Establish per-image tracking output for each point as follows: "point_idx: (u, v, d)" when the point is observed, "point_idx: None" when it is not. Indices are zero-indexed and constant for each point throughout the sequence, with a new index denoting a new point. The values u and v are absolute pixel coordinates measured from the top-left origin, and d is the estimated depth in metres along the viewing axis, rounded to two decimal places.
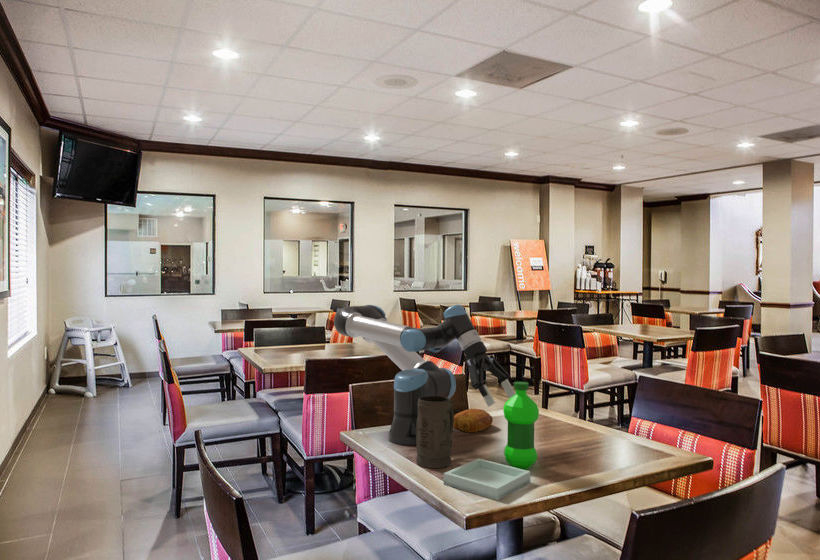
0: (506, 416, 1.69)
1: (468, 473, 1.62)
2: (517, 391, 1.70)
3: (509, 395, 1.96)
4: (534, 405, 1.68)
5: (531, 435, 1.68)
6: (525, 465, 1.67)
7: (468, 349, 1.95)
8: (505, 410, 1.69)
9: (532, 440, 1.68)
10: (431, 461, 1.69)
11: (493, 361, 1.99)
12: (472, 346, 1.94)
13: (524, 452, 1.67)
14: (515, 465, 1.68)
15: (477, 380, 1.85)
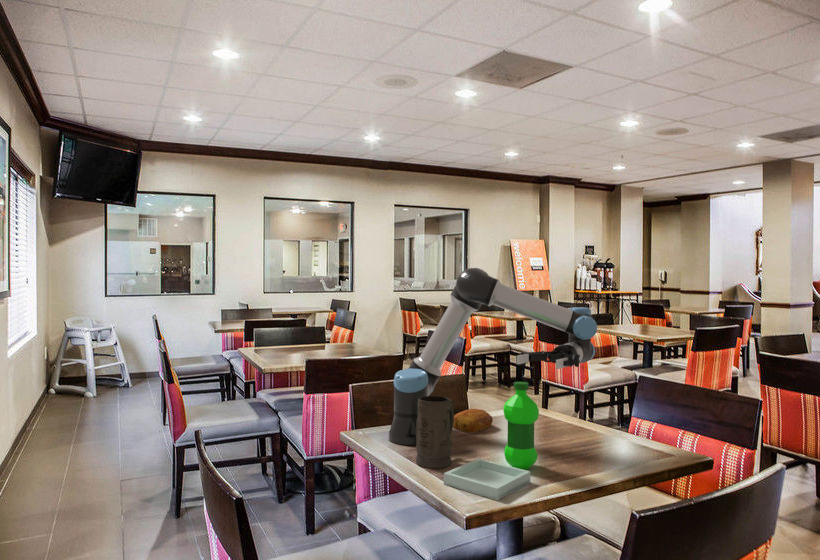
0: (506, 416, 1.69)
1: (468, 473, 1.62)
2: (517, 391, 1.70)
3: (520, 357, 1.83)
4: (534, 405, 1.68)
5: (531, 435, 1.68)
6: (525, 465, 1.67)
7: None
8: (505, 410, 1.69)
9: (532, 440, 1.68)
10: (431, 461, 1.69)
11: None
12: None
13: (524, 452, 1.67)
14: (515, 465, 1.68)
15: None
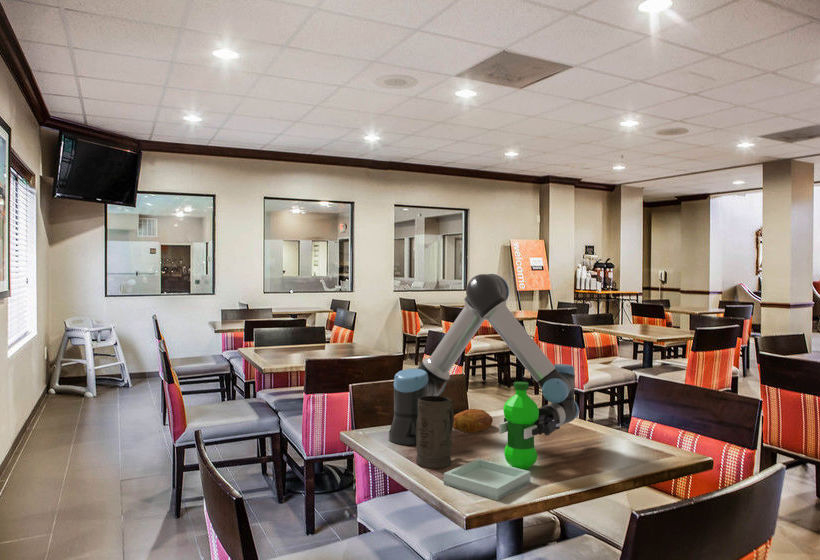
0: (506, 416, 1.69)
1: (468, 473, 1.62)
2: (517, 391, 1.70)
3: (503, 425, 1.71)
4: (534, 405, 1.68)
5: None
6: (525, 465, 1.67)
7: None
8: (505, 410, 1.69)
9: (532, 440, 1.68)
10: (431, 461, 1.69)
11: None
12: None
13: (524, 452, 1.67)
14: (515, 465, 1.68)
15: None
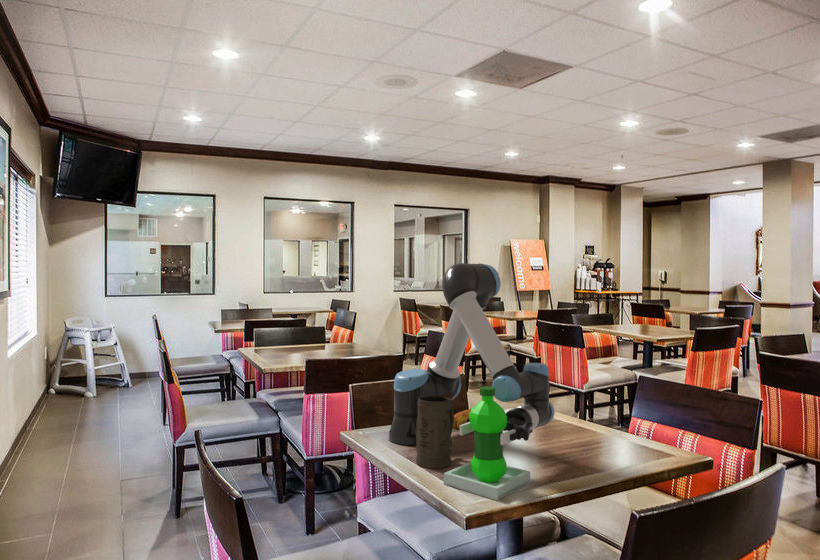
0: (472, 425, 1.55)
1: (468, 473, 1.62)
2: (483, 397, 1.56)
3: (464, 427, 1.59)
4: (502, 412, 1.54)
5: (499, 445, 1.54)
6: (493, 478, 1.53)
7: None
8: (470, 418, 1.55)
9: (501, 450, 1.55)
10: (431, 461, 1.69)
11: None
12: None
13: (492, 463, 1.53)
14: (483, 478, 1.54)
15: None
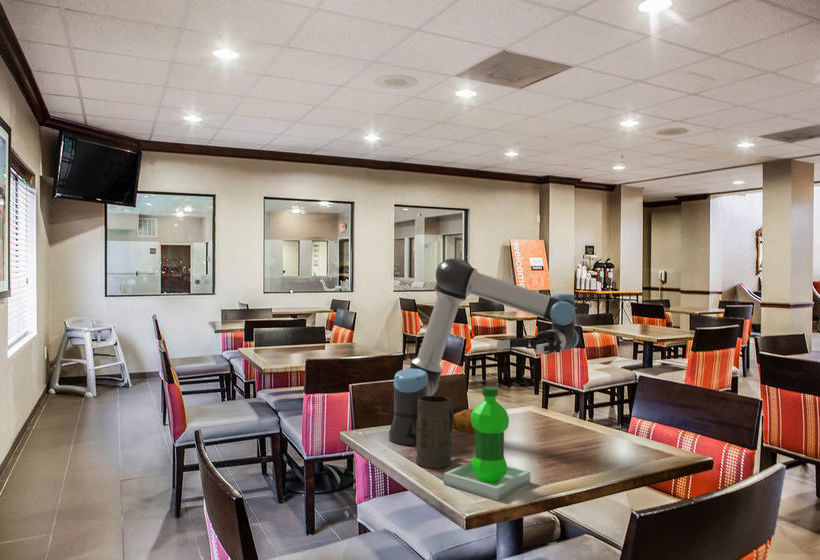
0: (473, 424, 1.55)
1: (468, 473, 1.62)
2: (485, 397, 1.56)
3: (501, 343, 1.80)
4: (504, 412, 1.54)
5: (500, 445, 1.54)
6: (494, 478, 1.53)
7: None
8: (472, 418, 1.55)
9: (501, 451, 1.55)
10: (431, 461, 1.69)
11: None
12: None
13: (492, 464, 1.53)
14: (483, 478, 1.54)
15: None
